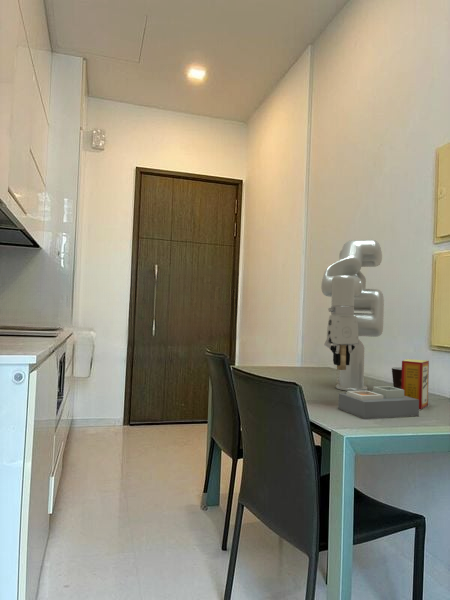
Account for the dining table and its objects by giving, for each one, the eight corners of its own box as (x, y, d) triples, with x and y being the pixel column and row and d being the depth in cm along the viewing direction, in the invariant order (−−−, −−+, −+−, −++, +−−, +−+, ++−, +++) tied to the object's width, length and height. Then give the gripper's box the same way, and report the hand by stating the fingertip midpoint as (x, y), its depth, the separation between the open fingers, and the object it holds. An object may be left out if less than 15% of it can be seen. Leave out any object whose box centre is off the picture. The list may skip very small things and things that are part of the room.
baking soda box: (408, 402, 161) (409, 357, 161) (427, 405, 157) (428, 359, 157) (400, 406, 153) (401, 359, 154) (421, 409, 149) (422, 361, 150)
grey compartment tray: (338, 408, 147) (338, 385, 147) (388, 406, 153) (389, 384, 153) (364, 418, 133) (365, 393, 134) (418, 415, 140) (419, 391, 140)
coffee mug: (389, 394, 176) (390, 368, 176) (392, 391, 184) (393, 366, 184) (421, 397, 171) (422, 371, 171) (423, 394, 178) (423, 369, 179)
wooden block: (335, 368, 154) (335, 339, 154) (342, 368, 155) (343, 339, 155) (340, 370, 152) (340, 340, 152) (347, 369, 152) (348, 340, 153)
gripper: (327, 311, 147) (326, 367, 147) (369, 312, 152) (368, 365, 152) (315, 310, 154) (314, 363, 154) (356, 311, 160) (355, 362, 160)
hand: (341, 364), depth 153 cm, fingers closed on wooden block, 3 cm apart
